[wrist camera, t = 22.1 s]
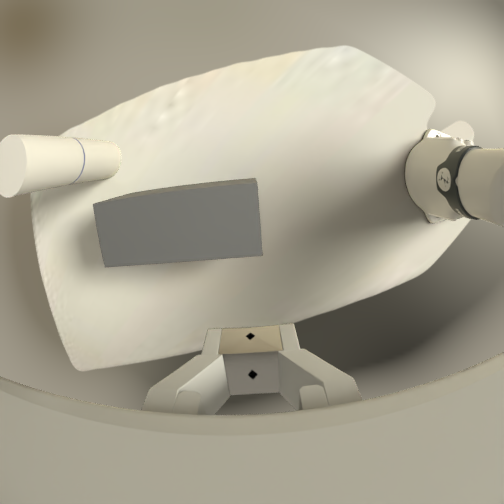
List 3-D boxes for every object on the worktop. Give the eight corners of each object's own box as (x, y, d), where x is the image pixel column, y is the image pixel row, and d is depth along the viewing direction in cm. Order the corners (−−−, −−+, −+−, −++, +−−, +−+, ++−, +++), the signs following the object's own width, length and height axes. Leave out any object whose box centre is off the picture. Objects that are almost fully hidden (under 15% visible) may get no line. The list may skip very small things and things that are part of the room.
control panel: (255, 178, 46) (257, 182, 32) (259, 230, 48) (262, 255, 35) (132, 192, 46) (93, 204, 33) (139, 241, 49) (105, 267, 36)
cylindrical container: (109, 186, 46) (14, 209, 22) (84, 166, 45) (-13, 178, 21) (128, 153, 44) (35, 151, 20) (102, 134, 43) (6, 124, 19)
